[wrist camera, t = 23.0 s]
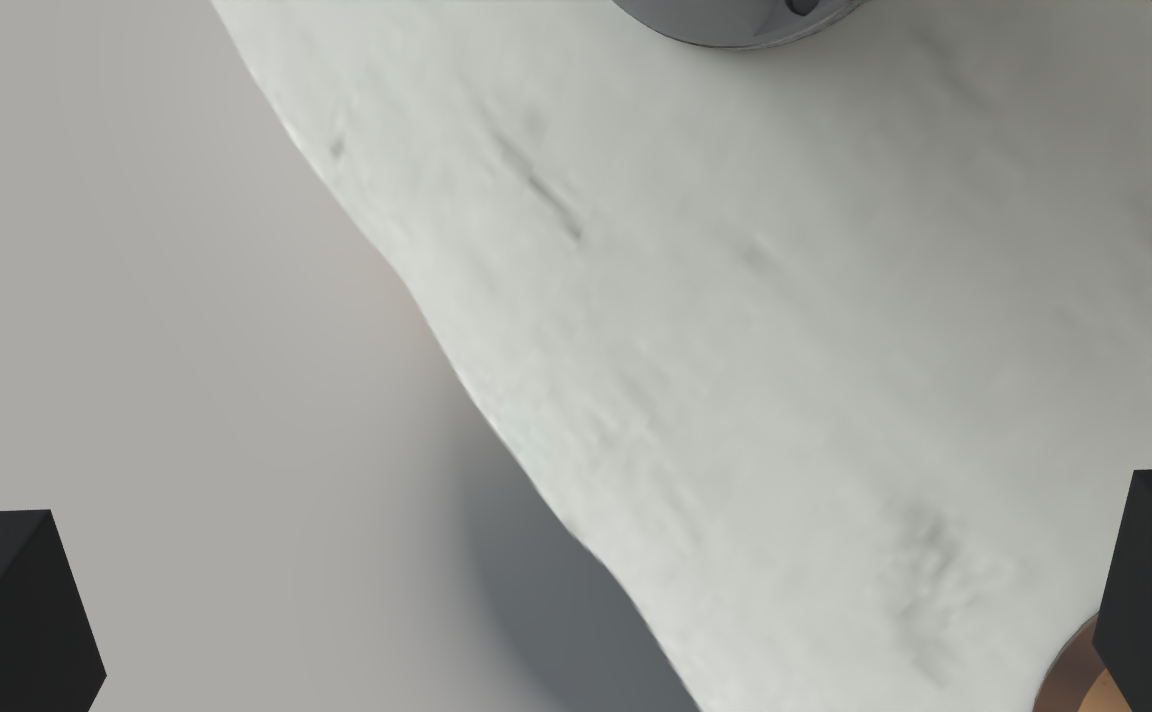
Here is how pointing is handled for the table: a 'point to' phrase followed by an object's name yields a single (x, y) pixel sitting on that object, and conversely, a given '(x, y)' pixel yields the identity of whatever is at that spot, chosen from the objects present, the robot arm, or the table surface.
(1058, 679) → the trivet
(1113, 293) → the table surface
